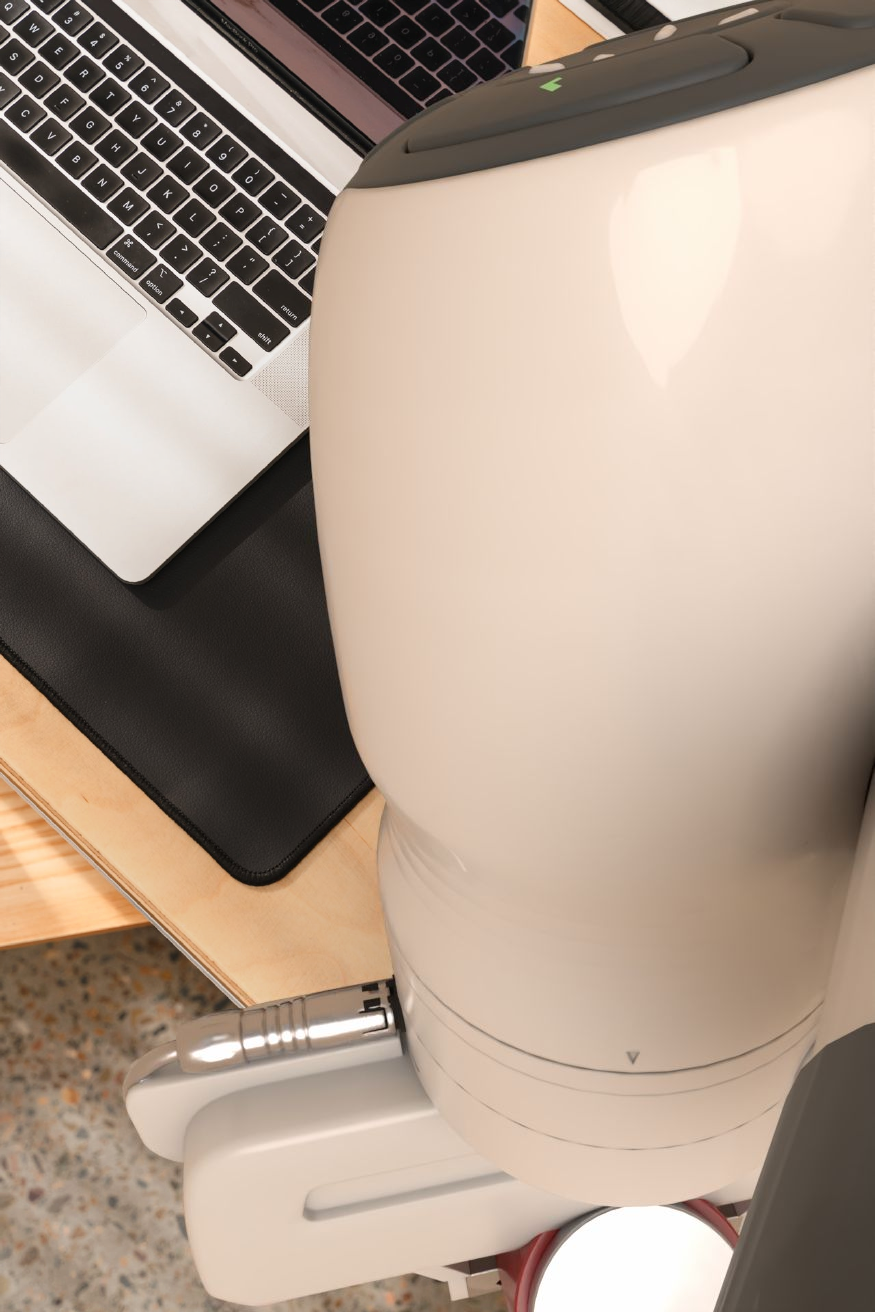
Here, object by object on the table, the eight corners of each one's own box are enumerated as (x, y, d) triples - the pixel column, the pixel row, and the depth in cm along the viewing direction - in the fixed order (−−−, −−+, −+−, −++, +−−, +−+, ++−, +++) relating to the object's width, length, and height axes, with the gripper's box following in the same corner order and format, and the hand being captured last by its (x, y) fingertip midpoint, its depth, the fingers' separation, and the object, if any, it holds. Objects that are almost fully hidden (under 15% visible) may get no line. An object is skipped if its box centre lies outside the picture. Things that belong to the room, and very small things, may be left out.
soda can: (649, 1073, 36) (794, 1220, 23) (616, 1247, 35) (747, 1498, 22) (489, 1035, 35) (548, 1163, 23) (451, 1209, 34) (491, 1440, 22)
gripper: (75, 1214, 17) (240, 1456, 25) (1175, 986, 18) (987, 1284, 27) (112, 919, 22) (239, 1202, 30) (974, 761, 23) (868, 1071, 32)
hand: (596, 1240), depth 28 cm, fingers closed on soda can, 6 cm apart
